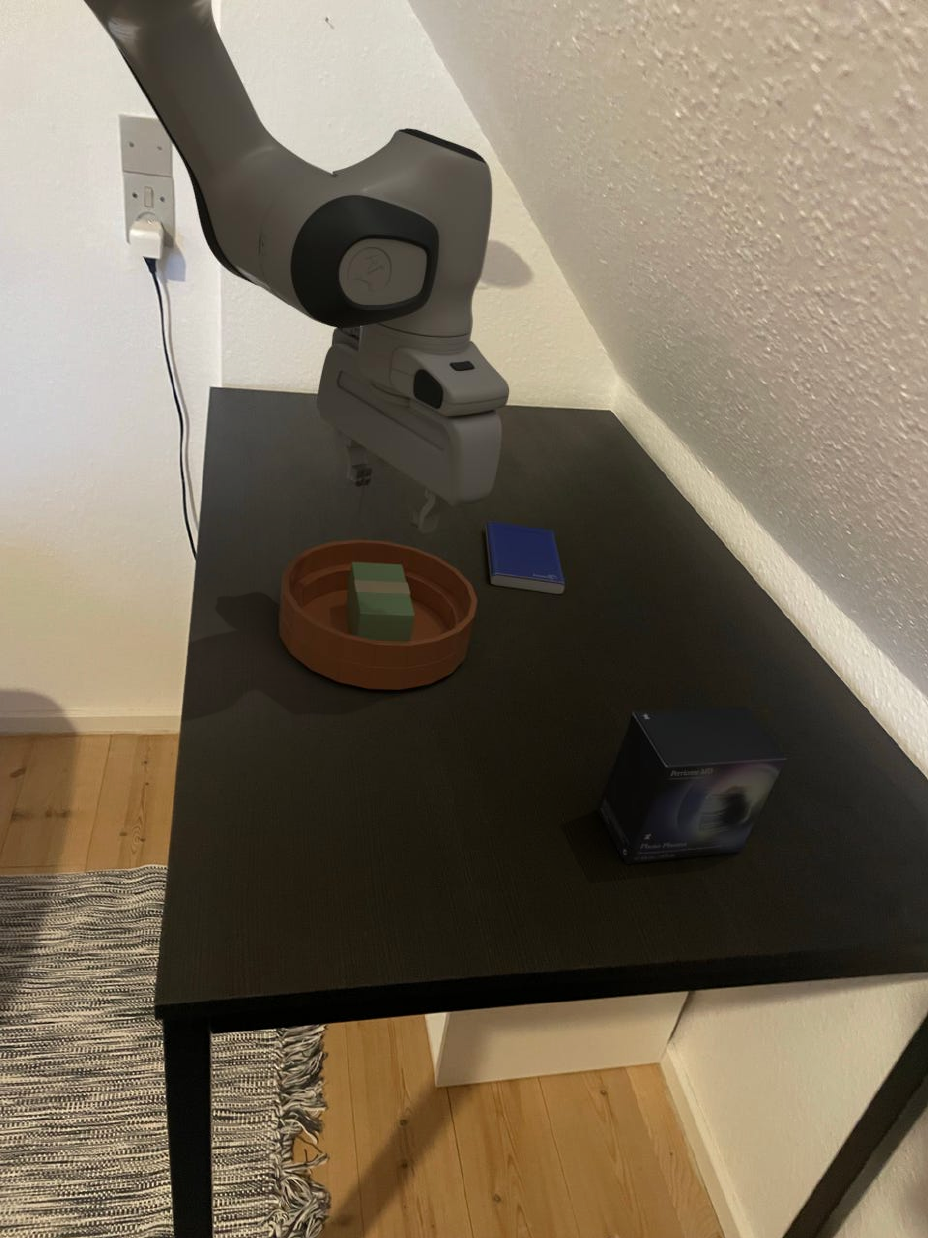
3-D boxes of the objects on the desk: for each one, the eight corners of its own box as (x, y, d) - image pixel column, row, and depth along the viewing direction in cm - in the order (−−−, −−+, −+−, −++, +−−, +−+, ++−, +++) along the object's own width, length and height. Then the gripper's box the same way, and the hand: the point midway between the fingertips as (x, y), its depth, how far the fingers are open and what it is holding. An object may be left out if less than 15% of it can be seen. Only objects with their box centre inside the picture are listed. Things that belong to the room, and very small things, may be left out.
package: (353, 658, 87) (359, 612, 84) (345, 604, 94) (350, 560, 91) (407, 659, 88) (415, 615, 85) (395, 606, 95) (402, 563, 93)
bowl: (281, 692, 82) (285, 641, 79) (276, 581, 97) (279, 534, 94) (483, 697, 86) (494, 648, 83) (449, 589, 101) (457, 545, 98)
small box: (626, 870, 72) (665, 767, 66) (593, 808, 77) (627, 708, 71) (744, 856, 75) (792, 758, 69) (705, 798, 80) (746, 702, 74)
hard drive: (565, 582, 104) (553, 530, 114) (492, 572, 103) (487, 520, 113) (562, 594, 104) (550, 541, 115) (490, 584, 103) (484, 531, 114)
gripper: (307, 314, 81) (294, 462, 88) (466, 405, 69) (436, 566, 77) (365, 311, 85) (348, 452, 92) (525, 395, 73) (491, 549, 81)
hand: (389, 505), depth 84 cm, fingers open, 8 cm apart
